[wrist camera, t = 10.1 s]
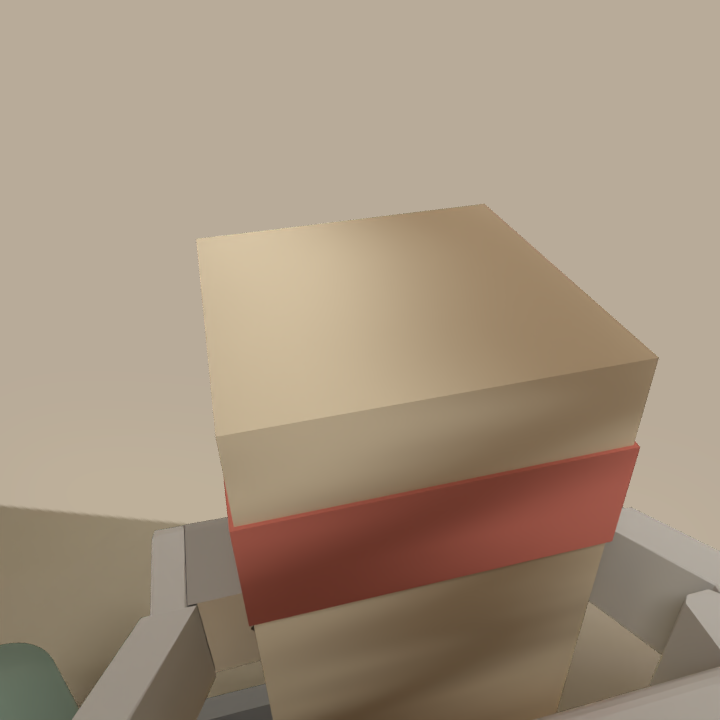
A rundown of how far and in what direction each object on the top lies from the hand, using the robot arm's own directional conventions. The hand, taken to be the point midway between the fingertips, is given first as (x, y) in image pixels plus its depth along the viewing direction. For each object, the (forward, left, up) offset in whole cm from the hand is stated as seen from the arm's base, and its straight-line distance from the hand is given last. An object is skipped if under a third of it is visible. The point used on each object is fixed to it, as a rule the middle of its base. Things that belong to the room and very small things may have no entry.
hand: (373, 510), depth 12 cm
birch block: (0, -1, -6) cm, 6 cm away
